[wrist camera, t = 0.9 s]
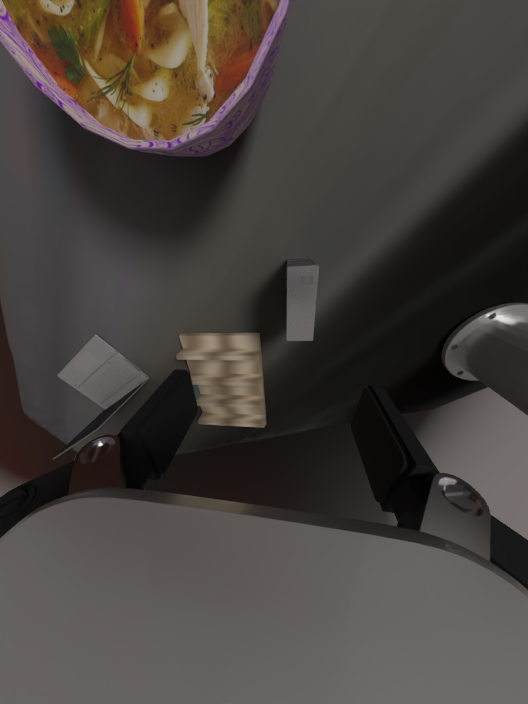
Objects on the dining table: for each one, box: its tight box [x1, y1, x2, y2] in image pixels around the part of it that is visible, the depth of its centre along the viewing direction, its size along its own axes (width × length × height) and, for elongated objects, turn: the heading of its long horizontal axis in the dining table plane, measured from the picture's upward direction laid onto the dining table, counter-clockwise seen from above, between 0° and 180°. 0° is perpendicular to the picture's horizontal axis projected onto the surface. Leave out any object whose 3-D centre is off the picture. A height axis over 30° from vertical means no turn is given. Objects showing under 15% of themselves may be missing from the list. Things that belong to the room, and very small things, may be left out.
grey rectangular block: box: [287, 258, 319, 341], centre depth 24 cm, size 3×8×9 cm, turn 3°
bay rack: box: [176, 333, 266, 428], centre depth 36 cm, size 14×22×6 cm, turn 3°
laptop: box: [53, 335, 149, 459], centre depth 36 cm, size 18×12×13 cm
